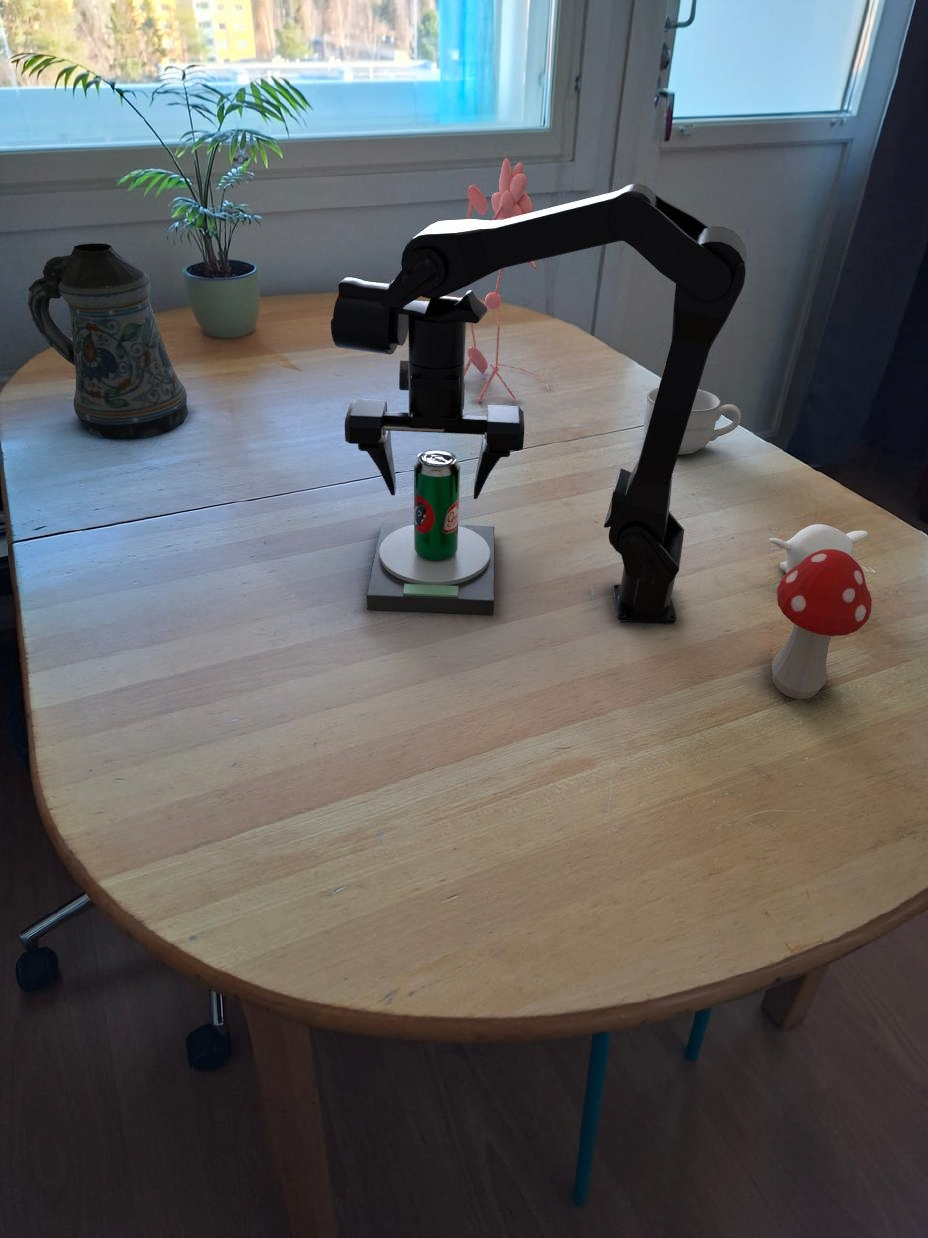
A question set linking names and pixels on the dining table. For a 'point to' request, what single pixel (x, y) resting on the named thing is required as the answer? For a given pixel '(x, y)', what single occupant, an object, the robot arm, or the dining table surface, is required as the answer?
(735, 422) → the teacup
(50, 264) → the beer stein
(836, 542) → the figurine
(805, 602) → the decorative mushroom
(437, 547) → the soda can
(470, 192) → the figurine
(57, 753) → the dining table surface
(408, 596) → the kitchen scale
